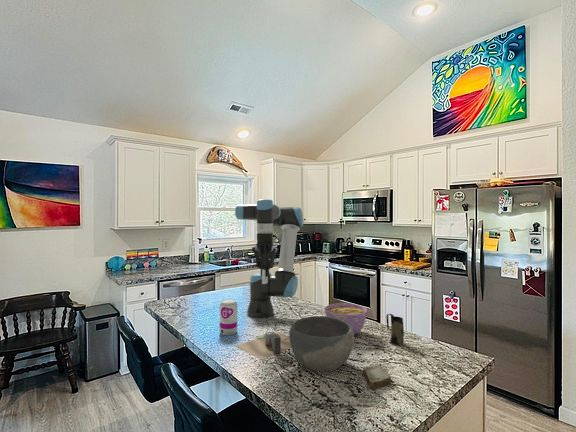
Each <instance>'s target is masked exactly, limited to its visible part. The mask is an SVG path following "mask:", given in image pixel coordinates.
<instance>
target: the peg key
mask: <svg viewBox="0 0 576 432" xmlns="http://www.w3.org/2000/svg"><path fill="white" fill-rule="evenodd" d="M262 333H263V334H262V335H265V345H267V346H272V350H273V352H274V353H278V354H280V353H282V352H281V337H280V336H279V335H278V334H275V333H276V332H275V331H266V332H265V331H262Z"/></svg>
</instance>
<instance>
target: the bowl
mask: <svg viewBox="0 0 576 432" xmlns="http://www.w3.org/2000/svg"><path fill="white" fill-rule="evenodd" d="M288 336H289V338H290V344H291V347H292V348H291V350H292V353H293V354H294V357H295V358H296V360H297V361H298V362H299V363H300V364H301V365H303V366H304V367H305V368H308V369H309V370H312V371H316V372H322V373H325V372H327V373H328V372H333V371H335V370H337V369H338V368H340V367H341V366H342V365H344V364H345V363H346V362H347V361H348V360H349V357H350V355H351V354H352V353H351V352H352V350H353V347H354V343H355V334H354V331H353V329H352V327H351V326H350V325H349V324H348V323H347V322H345V321H343V320H340V319H336V318H332V317H326V315H325V316H324V315H320V316H319V315H315V316H307V317H302V318H299V319H297V320H296V321H294V322H293V323H291V325H290V328H289V333H288Z"/></svg>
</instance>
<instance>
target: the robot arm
mask: <svg viewBox="0 0 576 432" xmlns="http://www.w3.org/2000/svg"><path fill="white" fill-rule="evenodd" d="M234 215H235V218H236V219H237V220H245V221H247V220H248V221H255V222H256V232H257V233H256V241H257V242H256V245H254V246H253V247H252V248H251V250H252V251H253V254H254V260H255V265H256V267H257V269H260V272H257V273H253V274H252V275H250V277H249V278H250V281H249V287H250V288H249V289H250V290H249V293H250V294H249V295H250V296H249V297H250V301H249V303H248V308H247V309H246V315H247V316H248V317H251V318H262V319H263V318H268V317H269V318H270V317H271V316H273V315H274V314H275V309H274V307H273V303H272V299H271V297H276V298H278V297H280V298H293V297H294V296H295V294H296V293H297V290H298V284H299V283H298V282H299V279H298V276H297V275H296V272H295V271H294V264H295V255H296V254H295V252H296V244H297V235H298V234H297V233H298V232H299V231H300V229H301V227H303V226H304V215H303V211H302V209H301V207H297V206H290V207H289V206H285V207H284V206H283V207H281V206H278V205H276V204H274V202H273V200H272V199H266V198H265V199H257V201H256V204H238V205H236V207H235V209H234ZM274 226H275V227H280V229H281V230H282V233H281V241H280V248H278V247H276V246H274V243H273V242H274V234H273V231H274ZM279 249H280V252H279V259H278V268H277V269H276V270H275V271H274V274H272V273H271V272H270V269H272V268H274V264H275V260H276V257H277V256H276V255H277V252H278V251H279Z"/></svg>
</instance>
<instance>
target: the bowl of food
mask: <svg viewBox="0 0 576 432" xmlns="http://www.w3.org/2000/svg"><path fill="white" fill-rule="evenodd" d="M324 311H325V316H326V317H332V318H336V319H340V320H343V321H345V322H347V323H348V324H349V325H350V326H351V327H352V329H353V331H354V335H355V334H358V333H360V332H361V331H362V330H363V329H364V326H365V325H364V324H365V323H366V317H367V313H368V308H366V307H364V306H362V305H359V304H353V303H344V302H342V303H341V302H339V303H332V304H328V305H326V306H325V307H324Z"/></svg>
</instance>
